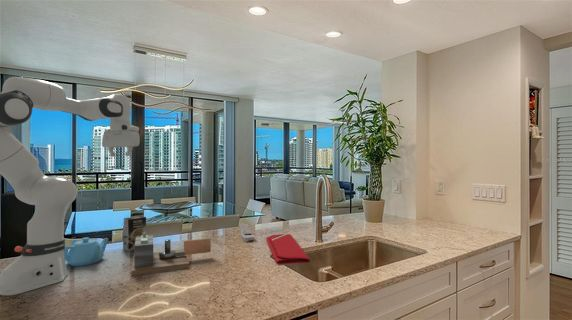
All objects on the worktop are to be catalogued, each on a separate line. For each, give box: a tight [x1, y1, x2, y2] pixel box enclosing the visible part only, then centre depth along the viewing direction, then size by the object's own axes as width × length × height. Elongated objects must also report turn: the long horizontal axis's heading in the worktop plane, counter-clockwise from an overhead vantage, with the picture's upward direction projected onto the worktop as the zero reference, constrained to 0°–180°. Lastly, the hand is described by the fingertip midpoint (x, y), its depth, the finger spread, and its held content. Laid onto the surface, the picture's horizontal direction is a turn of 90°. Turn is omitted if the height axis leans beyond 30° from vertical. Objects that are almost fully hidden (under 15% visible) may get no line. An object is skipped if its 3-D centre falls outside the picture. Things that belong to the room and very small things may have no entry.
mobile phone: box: [238, 222, 255, 243], centre depth 179 cm, size 6×6×25 cm
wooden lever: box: [158, 237, 212, 259], centre depth 138 cm, size 7×22×8 cm, turn 115°
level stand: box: [130, 231, 190, 277], centre depth 132 cm, size 22×22×14 cm
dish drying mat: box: [266, 233, 311, 265], centre depth 154 cm, size 16×41×4 cm, turn 11°
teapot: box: [64, 236, 109, 267], centre depth 134 cm, size 15×15×11 cm
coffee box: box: [122, 215, 147, 252], centre depth 155 cm, size 9×6×16 cm
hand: (120, 156), depth 145 cm, fingers open, 8 cm apart
